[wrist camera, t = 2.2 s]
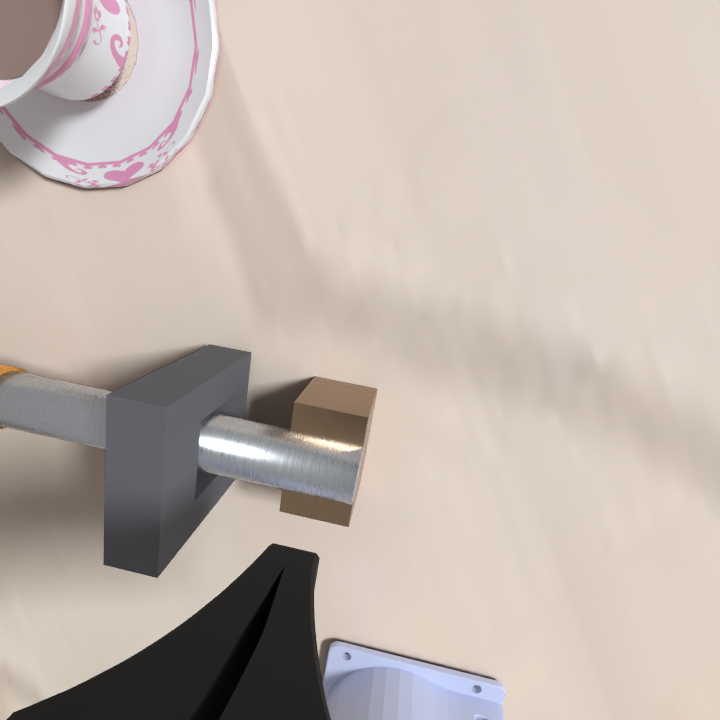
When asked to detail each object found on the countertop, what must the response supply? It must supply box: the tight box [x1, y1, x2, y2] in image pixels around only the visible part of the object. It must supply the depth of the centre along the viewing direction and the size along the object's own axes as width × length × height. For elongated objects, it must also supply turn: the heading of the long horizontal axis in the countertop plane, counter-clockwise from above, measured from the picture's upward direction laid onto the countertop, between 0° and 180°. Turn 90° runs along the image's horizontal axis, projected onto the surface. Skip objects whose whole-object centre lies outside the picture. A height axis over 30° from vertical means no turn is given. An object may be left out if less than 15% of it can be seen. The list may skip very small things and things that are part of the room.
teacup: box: [0, 0, 220, 189], centre depth 17 cm, size 12×12×6 cm
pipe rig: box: [0, 364, 377, 527], centre depth 21 cm, size 24×5×5 cm, turn 81°
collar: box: [104, 345, 251, 578], centre depth 19 cm, size 2×6×7 cm, turn 170°
